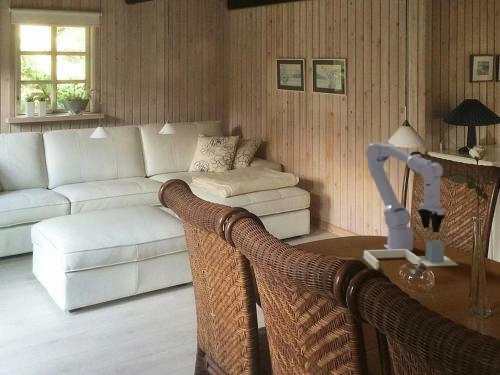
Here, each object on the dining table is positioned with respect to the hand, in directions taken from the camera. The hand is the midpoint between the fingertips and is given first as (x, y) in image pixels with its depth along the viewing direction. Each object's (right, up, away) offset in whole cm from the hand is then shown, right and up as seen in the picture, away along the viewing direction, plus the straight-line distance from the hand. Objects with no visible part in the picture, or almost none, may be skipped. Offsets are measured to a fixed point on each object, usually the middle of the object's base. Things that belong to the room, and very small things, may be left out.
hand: (430, 229), depth 232 cm
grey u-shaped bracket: (-16, -12, -7) cm, 21 cm away
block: (0, -11, -5) cm, 12 cm away
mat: (0, -11, -5) cm, 12 cm away
